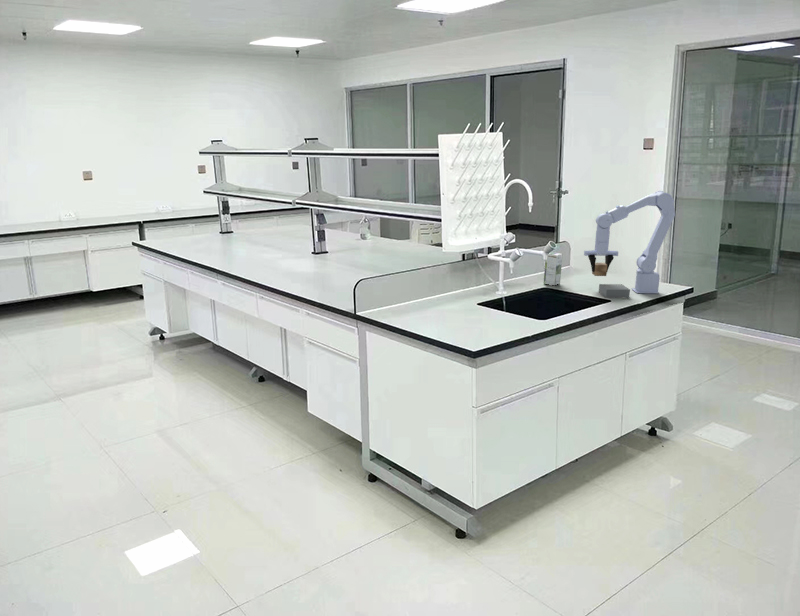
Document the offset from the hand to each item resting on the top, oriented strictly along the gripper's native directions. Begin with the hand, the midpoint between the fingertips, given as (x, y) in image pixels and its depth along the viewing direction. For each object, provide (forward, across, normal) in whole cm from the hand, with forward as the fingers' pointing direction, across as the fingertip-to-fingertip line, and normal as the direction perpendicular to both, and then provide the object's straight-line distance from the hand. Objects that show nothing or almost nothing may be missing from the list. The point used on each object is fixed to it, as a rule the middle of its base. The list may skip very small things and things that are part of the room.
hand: (599, 271), depth 286 cm
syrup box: (+8, +19, -10) cm, 23 cm away
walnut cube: (+1, 0, 0) cm, 1 cm away
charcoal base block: (+9, -4, +9) cm, 13 cm away
